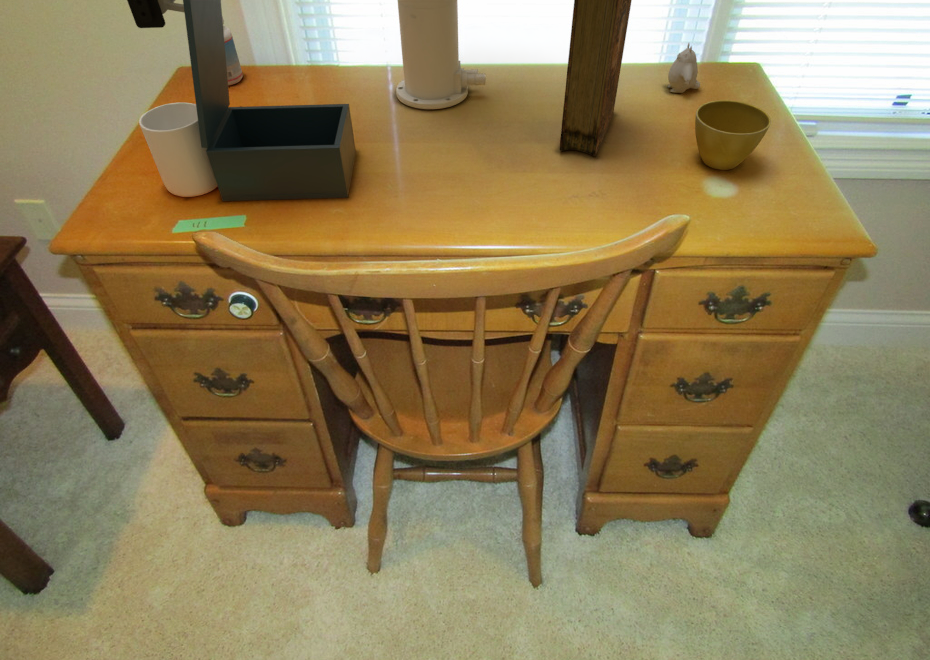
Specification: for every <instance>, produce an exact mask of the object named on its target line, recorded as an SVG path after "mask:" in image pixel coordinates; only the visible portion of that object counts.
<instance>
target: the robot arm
mask: <svg viewBox="0 0 930 660" xmlns="http://www.w3.org/2000/svg"><path fill="white" fill-rule="evenodd" d="M126 1H127V4H128V6H129V9H130V13H131V15H132V17H133V21H134V23H135V25H136V27H137V28H138V29H160V28H161V29H162V28H164V27H165V26H166V21H165V20H166V19H165V17H164V14H162V11H161V8H160V5H159V2H158V0H126ZM458 5H459V4H458V0H397V10H398V11H397V12H398V21H399V33H400V34H399V35H400V47H401V58H402V69H403V79H402V80H401V81H399V83H398V84H397V85H396V88H395V93H396V98H397V99H398V101H400V102H401V103H402V104H404V105H406V106H408V107H410V108H415V109H419V110H440V109H441V110H442V109H445V108H450V107H453V106H456V105H458V104H460V103H462V102H463V101H464V100H465V99H466V98H467V96H468V94H469V86H475V87H476V86H477V87H479V86H486V73H479V71H478V70H479V69H478V68H475V69H474V68H472V69H471V68H470V69H465V67H461V66H462V65H461V60H459V59H460V58H459V55H460V54H459V20H458V19H459V14H458V13H459V12H458V10H459V8H458Z"/></svg>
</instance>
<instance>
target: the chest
mask: <svg viewBox="0 0 930 660" xmlns="http://www.w3.org/2000/svg"><path fill="white" fill-rule="evenodd" d="M206 153H207V156H208V159H209V162H210V165H211V168H212V171H213V174H214V177H215V180H216V183H217V186H218V187H217V188H218V192H219V194H220V198H221V201H222V202H244V201H279V200H310V199H311V200H313V199H346V198H347V199H348V198H349V194H350V188H351V183H352V177H353V173H354V172H353V171H354V166H355V160H356V155H357V149H356V143H355V136H354V130H353V123H352V116H351V109H350V103H327V104H326V103H325V104H292V105H291V104H289V105H255V106H254V105H253V106H252V105H251V106H249V105H248V106H229V107H228V109H227V111H226V113H225V115H224V117H223V119H222V121H221V123H220V125H219V127H218V129H217V131H216V133H215V135H214V137H213V139H212V141H211V143H210V145H209V147H208V148H207V150H206Z"/></svg>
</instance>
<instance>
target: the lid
mask: <svg viewBox="0 0 930 660" xmlns="http://www.w3.org/2000/svg"><path fill="white" fill-rule="evenodd" d="M158 2H159V5H160V8H161V11H162V14H163V15H164V14H166V12H167V11H173V12H178V13H184V20H185V27H186V37H187V44H188V45H187V46H188V53H189V59H190V68H191V75H192V83H193V92H194V99H195V104H196V108H197V116H198V124H199V132H200V140H201V147H202V148H208V147H209V145H210V143H211V141H212V139H213V137H214V135H215V133H216V131H217V129H218V127H219V125H220V123H221V121H222V119H223V117H224V115H225V113H226V111H227V109H228V107H230V105H231V103H230V101H231V100H230V92H229V91H230V90H229V85H228V78H227V67H226V55H225V43H224V32H223V26H224V24H223V20H224V19H223V20H222V16H223V10H222V0H182V3H178V2H176V0H158Z"/></svg>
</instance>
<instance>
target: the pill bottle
mask: <svg viewBox="0 0 930 660" xmlns="http://www.w3.org/2000/svg"><path fill="white" fill-rule="evenodd" d="M222 20H223V32H224V43H225V55H226V67H227V78H228V86H232V85H236V84H238V83H240V81H242V79H243V78H244V77H243V76H244V74H243V70H242V67H241V62H240V58H239V56H238V52H237V47H236V45H235V41H234V38H233V37H234V36H233V34H232V31H231V29H230V28H229V27H228V26H226V25H224V24H225V20H224V17H223V15H222Z"/></svg>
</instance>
